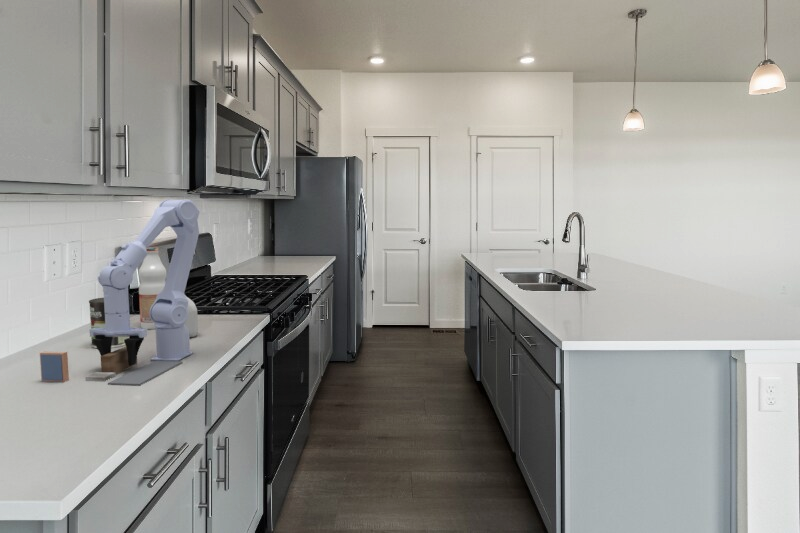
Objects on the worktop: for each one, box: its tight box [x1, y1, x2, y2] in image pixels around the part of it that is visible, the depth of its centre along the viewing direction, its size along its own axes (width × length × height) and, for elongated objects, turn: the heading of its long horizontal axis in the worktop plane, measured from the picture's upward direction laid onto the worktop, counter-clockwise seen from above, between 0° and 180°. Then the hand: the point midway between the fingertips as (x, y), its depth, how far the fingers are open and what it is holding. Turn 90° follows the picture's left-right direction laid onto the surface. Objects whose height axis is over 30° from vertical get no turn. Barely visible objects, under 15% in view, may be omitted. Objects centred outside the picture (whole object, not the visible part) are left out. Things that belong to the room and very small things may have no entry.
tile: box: [39, 350, 70, 383], centre depth 146 cm, size 2×6×7 cm, turn 83°
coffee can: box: [88, 297, 129, 349], centre depth 185 cm, size 10×10×14 cm
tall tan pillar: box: [84, 346, 138, 382], centre depth 154 cm, size 16×5×5 cm, turn 173°
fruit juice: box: [138, 246, 168, 330], centre depth 212 cm, size 9×9×28 cm
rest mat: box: [107, 360, 184, 386], centre depth 153 cm, size 21×8×1 cm, turn 173°
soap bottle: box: [184, 293, 199, 338], centre depth 195 cm, size 10×10×23 cm
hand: (119, 364), depth 156 cm, fingers open, 6 cm apart
